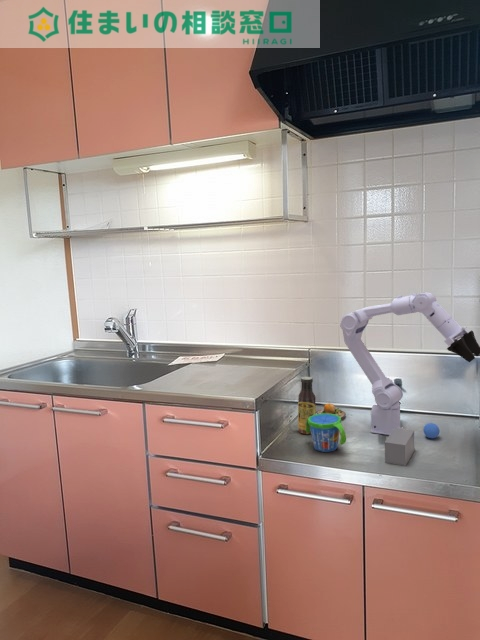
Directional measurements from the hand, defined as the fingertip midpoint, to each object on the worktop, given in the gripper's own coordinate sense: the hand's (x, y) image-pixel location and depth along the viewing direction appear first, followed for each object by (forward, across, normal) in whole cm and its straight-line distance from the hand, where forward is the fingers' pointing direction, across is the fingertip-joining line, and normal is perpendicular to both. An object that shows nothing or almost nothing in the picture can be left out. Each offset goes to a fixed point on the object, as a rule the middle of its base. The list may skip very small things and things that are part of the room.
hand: (476, 357), depth 150 cm
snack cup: (-6, -26, +48) cm, 55 cm away
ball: (+10, 0, +28) cm, 30 cm away
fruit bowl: (-14, 0, +59) cm, 60 cm away
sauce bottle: (-14, -18, +57) cm, 61 cm away
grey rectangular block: (+9, -19, +31) cm, 38 cm away
